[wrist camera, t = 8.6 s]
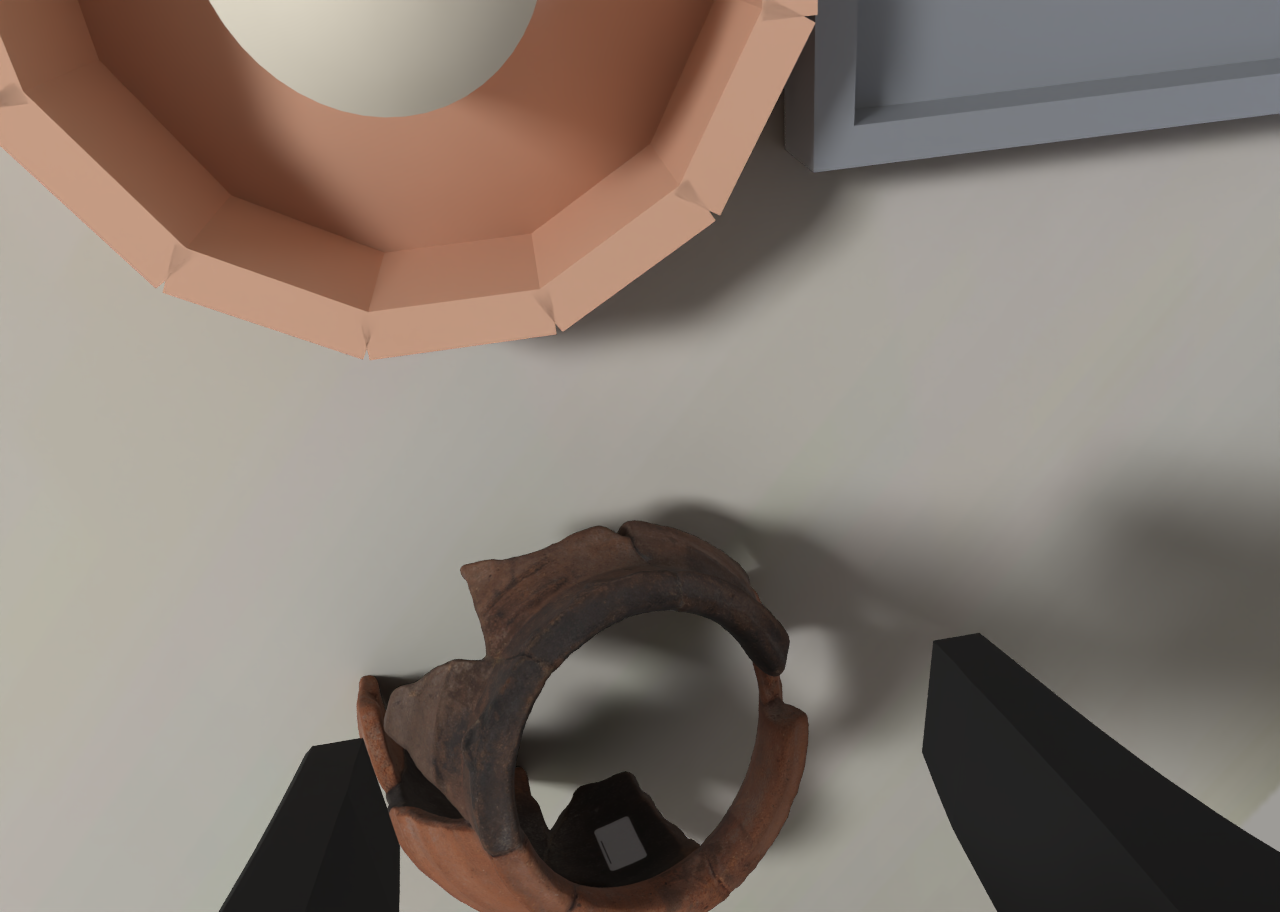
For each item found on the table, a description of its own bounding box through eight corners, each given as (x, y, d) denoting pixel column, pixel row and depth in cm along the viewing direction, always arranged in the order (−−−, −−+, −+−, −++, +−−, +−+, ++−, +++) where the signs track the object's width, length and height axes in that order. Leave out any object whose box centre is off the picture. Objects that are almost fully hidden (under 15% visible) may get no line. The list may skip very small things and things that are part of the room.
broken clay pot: (260, 596, 22) (320, 711, 15) (593, 418, 26) (774, 439, 18) (475, 974, 25) (611, 1219, 18) (743, 768, 29) (945, 903, 22)
